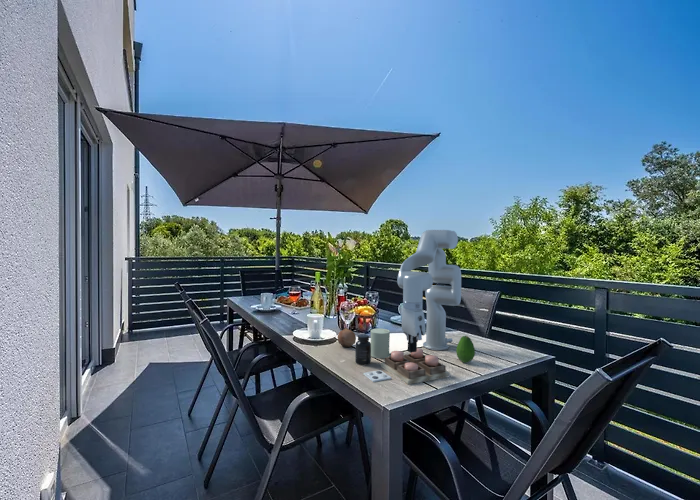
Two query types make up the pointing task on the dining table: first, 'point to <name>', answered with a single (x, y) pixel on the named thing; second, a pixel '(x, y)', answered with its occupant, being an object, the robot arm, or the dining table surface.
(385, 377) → the tile
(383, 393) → the dining table surface
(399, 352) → the button
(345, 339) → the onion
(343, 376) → the dining table surface
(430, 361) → the button
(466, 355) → the avocado
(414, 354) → the button
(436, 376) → the board
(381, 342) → the can
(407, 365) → the button
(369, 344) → the supplement bottle
